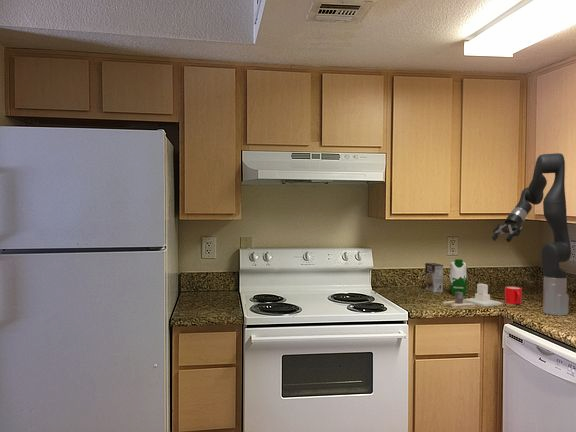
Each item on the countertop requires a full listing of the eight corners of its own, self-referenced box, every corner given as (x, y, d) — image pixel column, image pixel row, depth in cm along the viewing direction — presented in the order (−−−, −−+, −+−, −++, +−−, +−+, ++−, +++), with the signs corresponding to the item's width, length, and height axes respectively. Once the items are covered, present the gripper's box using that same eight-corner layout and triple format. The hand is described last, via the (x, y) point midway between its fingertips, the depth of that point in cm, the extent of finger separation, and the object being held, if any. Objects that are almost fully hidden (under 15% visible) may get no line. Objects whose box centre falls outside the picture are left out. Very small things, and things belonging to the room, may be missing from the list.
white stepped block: (489, 301, 224) (490, 284, 224) (482, 302, 222) (482, 285, 222) (482, 299, 229) (482, 283, 228) (475, 300, 227) (475, 284, 226)
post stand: (475, 306, 216) (475, 293, 216) (458, 308, 212) (458, 295, 212) (459, 302, 226) (459, 289, 226) (442, 304, 222) (442, 291, 222)
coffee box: (424, 289, 260) (424, 263, 260) (433, 289, 262) (433, 262, 262) (433, 292, 252) (434, 264, 251) (443, 291, 254) (443, 264, 253)
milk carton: (450, 295, 244) (450, 259, 244) (449, 292, 253) (449, 258, 252) (467, 296, 242) (467, 260, 241) (465, 292, 251) (465, 258, 250)
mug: (512, 306, 218) (512, 290, 217) (502, 300, 230) (502, 286, 229) (528, 306, 217) (528, 290, 217) (517, 301, 229) (517, 286, 229)
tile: (502, 304, 221) (502, 302, 221) (484, 306, 216) (484, 304, 216) (480, 299, 234) (480, 297, 234) (463, 300, 229) (463, 299, 229)
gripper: (501, 212, 233) (485, 234, 229) (524, 213, 220) (508, 236, 216) (508, 222, 236) (492, 244, 231) (531, 223, 223) (515, 246, 218)
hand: (500, 240), depth 224 cm, fingers open, 8 cm apart
